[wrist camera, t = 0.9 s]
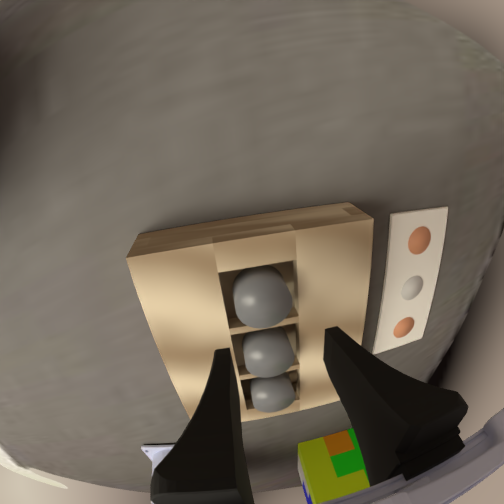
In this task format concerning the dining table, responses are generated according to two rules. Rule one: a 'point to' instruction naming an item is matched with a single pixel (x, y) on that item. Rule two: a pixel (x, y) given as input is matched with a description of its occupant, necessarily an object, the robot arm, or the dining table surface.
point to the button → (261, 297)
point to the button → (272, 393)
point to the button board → (222, 302)
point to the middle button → (267, 352)
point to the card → (410, 275)
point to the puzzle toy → (331, 467)
